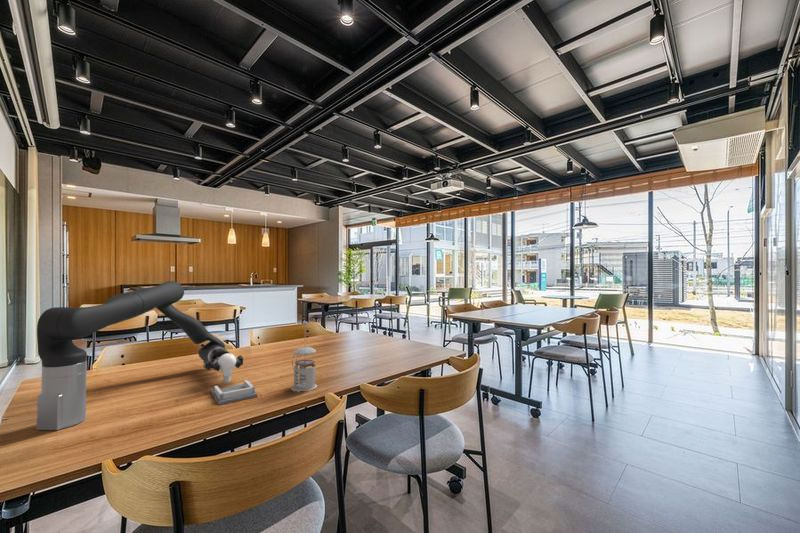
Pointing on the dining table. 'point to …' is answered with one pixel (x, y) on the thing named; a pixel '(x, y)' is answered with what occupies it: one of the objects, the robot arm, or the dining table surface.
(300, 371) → the french press
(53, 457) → the dining table surface
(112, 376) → the dining table surface
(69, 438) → the dining table surface
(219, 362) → the lightbulb
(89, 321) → the robot arm
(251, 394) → the u holder
